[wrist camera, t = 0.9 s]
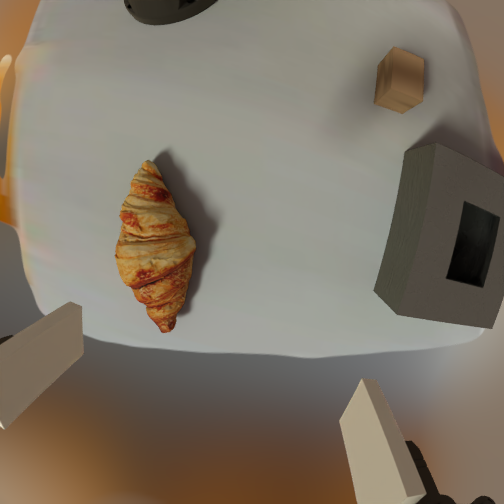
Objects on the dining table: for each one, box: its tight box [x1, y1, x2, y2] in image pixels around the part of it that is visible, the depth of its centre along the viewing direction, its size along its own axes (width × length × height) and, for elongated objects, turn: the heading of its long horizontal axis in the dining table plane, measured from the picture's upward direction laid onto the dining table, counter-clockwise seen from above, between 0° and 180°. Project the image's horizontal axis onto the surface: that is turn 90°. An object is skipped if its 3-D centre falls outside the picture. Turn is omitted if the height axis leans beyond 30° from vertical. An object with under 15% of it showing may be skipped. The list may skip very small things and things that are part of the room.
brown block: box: [374, 47, 424, 114], centre depth 27 cm, size 6×4×6 cm, turn 169°
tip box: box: [374, 143, 504, 329], centre depth 28 cm, size 18×16×8 cm
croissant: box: [115, 160, 196, 333], centre depth 33 cm, size 21×10×8 cm, turn 6°
